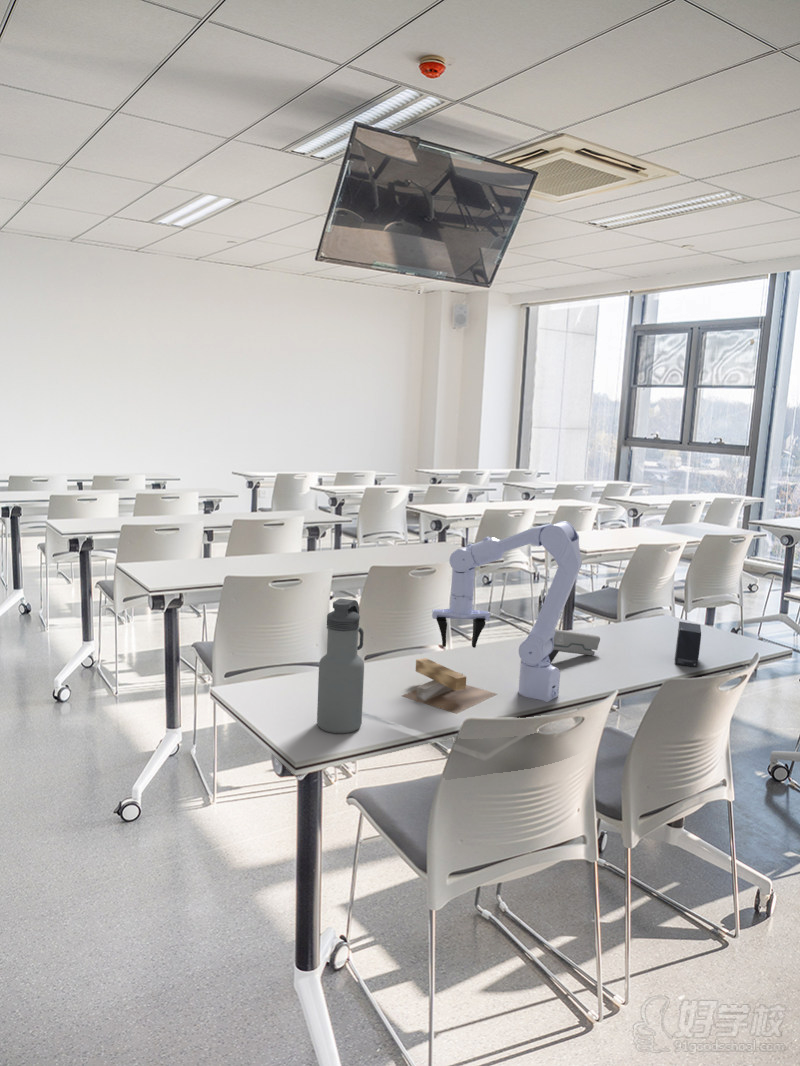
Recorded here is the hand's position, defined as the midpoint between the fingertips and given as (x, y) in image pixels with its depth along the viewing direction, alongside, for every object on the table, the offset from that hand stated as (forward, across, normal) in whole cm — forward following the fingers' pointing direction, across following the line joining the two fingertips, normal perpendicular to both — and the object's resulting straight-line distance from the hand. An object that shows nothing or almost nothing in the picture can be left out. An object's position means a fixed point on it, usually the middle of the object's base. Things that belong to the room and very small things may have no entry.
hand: (458, 646), depth 209 cm
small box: (+10, +71, +23) cm, 75 cm away
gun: (+10, +35, +22) cm, 42 cm away
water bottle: (+10, -30, -31) cm, 44 cm away
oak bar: (+5, -6, -11) cm, 13 cm away
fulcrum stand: (+9, -3, -13) cm, 16 cm away
